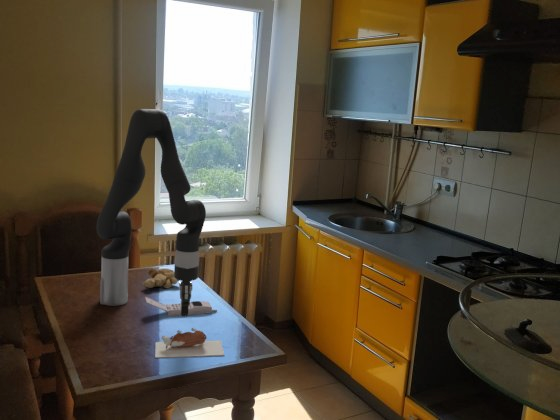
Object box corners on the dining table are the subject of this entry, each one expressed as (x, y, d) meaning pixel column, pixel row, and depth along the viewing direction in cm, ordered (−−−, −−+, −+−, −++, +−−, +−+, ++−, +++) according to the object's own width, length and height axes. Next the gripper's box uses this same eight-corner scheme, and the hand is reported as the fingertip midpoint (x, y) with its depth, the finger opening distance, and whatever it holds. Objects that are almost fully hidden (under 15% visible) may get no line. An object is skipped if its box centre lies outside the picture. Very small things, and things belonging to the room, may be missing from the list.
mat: (155, 358, 155) (155, 357, 155) (155, 343, 164) (155, 342, 164) (224, 355, 159) (224, 354, 159) (220, 341, 169) (220, 340, 169)
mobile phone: (144, 296, 187) (214, 292, 196) (143, 312, 188) (213, 307, 197) (146, 302, 182) (218, 298, 190) (145, 319, 183) (217, 313, 191)
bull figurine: (161, 327, 166) (160, 337, 158) (205, 326, 168) (206, 335, 160) (161, 341, 166) (160, 351, 158) (205, 339, 169) (206, 349, 161)
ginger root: (180, 274, 227) (180, 258, 224) (183, 295, 213) (183, 278, 210) (141, 276, 223) (141, 259, 220) (142, 298, 209) (142, 280, 206)
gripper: (174, 257, 173) (172, 307, 177) (175, 269, 161) (172, 323, 164) (197, 257, 175) (195, 307, 178) (200, 269, 162) (197, 323, 166)
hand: (184, 315), depth 171 cm, fingers closed
